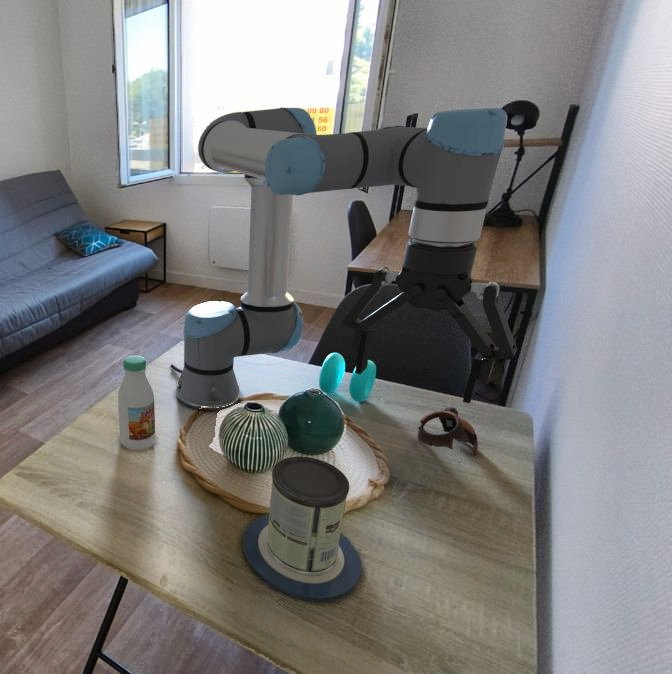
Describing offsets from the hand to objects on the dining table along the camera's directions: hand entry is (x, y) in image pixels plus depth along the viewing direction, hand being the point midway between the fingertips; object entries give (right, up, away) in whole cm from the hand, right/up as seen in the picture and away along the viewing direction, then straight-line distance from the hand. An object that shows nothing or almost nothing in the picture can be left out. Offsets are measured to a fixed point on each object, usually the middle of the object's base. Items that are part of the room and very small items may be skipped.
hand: (411, 383), depth 73 cm
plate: (-13, -28, +6) cm, 31 cm away
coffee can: (-14, -27, +6) cm, 31 cm away
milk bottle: (-35, -16, +37) cm, 54 cm away
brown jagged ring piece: (+26, -15, +28) cm, 41 cm away
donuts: (+16, -7, +47) cm, 51 cm away
